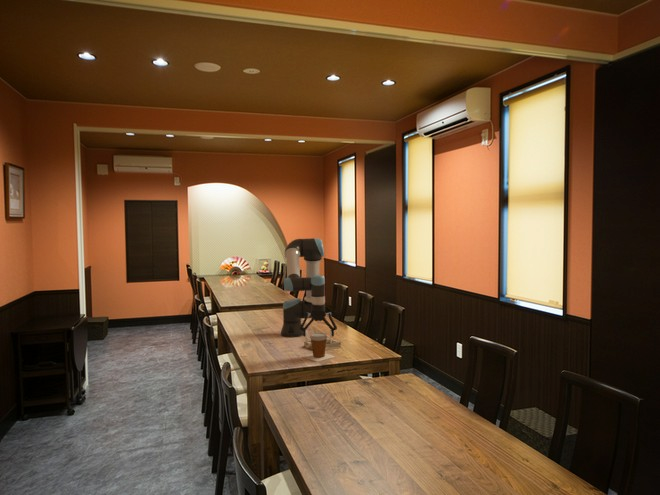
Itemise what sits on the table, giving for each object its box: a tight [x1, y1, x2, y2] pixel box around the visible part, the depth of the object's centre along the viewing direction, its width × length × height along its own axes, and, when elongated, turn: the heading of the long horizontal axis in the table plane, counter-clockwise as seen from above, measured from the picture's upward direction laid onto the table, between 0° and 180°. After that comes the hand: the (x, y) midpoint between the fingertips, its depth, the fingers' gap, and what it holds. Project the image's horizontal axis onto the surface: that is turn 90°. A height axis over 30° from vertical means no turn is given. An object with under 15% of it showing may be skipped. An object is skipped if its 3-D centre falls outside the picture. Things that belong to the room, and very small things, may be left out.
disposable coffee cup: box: [309, 332, 328, 358], centre depth 257 cm, size 10×10×12 cm
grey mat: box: [302, 352, 336, 363], centre depth 257 cm, size 13×13×1 cm
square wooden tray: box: [303, 337, 342, 352], centre depth 278 cm, size 15×15×3 cm
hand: (318, 342), depth 256 cm, fingers open, 13 cm apart
